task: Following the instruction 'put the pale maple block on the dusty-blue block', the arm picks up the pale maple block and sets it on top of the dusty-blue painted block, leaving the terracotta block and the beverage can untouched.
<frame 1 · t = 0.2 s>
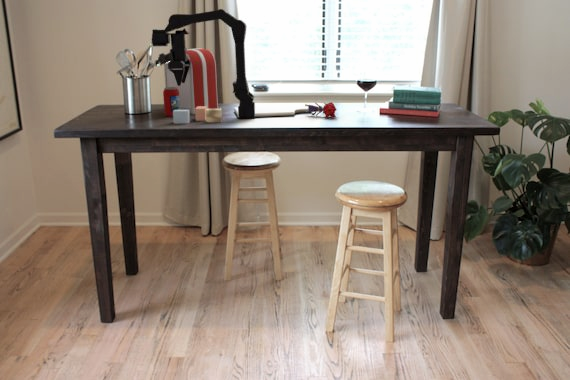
hand: (181, 84, 255), 14 cm above the table, fingers open, 9 cm apart
beverage can: (172, 116, 266), on the table
terracotta block: (201, 119, 257), on the table
blue block: (181, 122, 250), on the table
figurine: (321, 117, 258), on the table
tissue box: (192, 110, 281), on the table
maple block: (214, 121, 252), on the table
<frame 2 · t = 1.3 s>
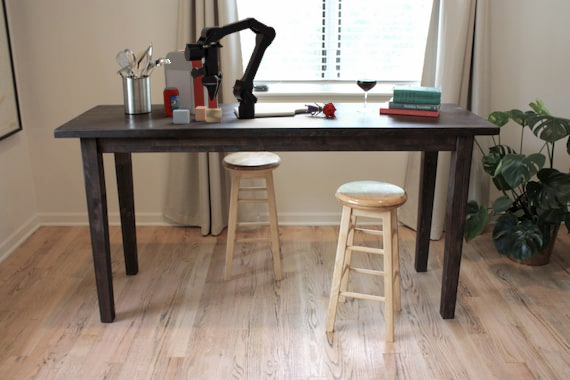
hand: (213, 98, 249), 9 cm above the table, fingers open, 9 cm apart
nothing on the table moved.
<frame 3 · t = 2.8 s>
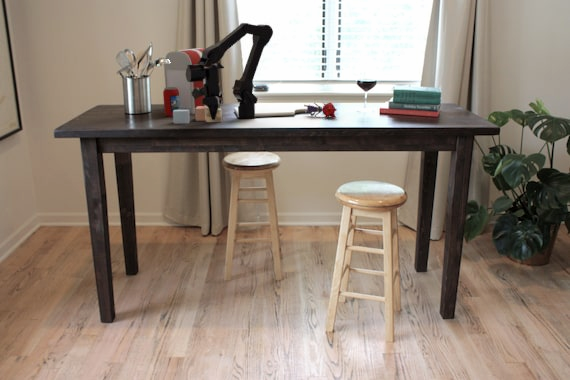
hand: (214, 118, 251), 1 cm above the table, fingers closed on maple block, 4 cm apart
maple block: (214, 121, 252), on the table, touching gripper
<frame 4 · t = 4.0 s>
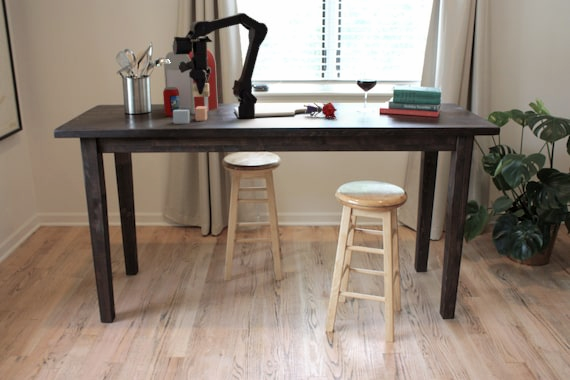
hand: (201, 93, 248), 11 cm above the table, fingers closed on maple block, 4 cm apart
maple block: (201, 96, 248), point 10 cm above the table, touching gripper
everything else where it was.
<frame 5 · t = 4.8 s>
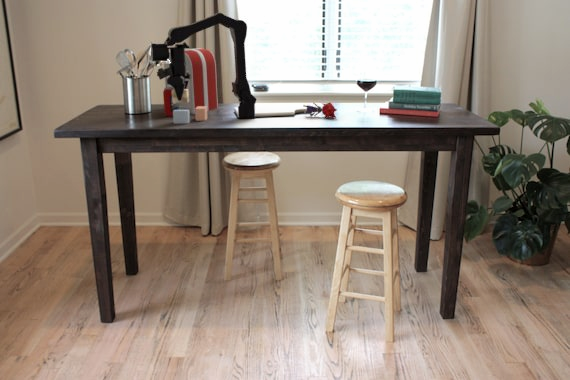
hand: (180, 99, 247), 9 cm above the table, fingers closed on maple block, 4 cm apart
maple block: (180, 102, 248), point 8 cm above the table, touching gripper
when the fingers open (7 cm above the table, at t = 5.4 s): maple block drops 1 cm, resting on blue block.
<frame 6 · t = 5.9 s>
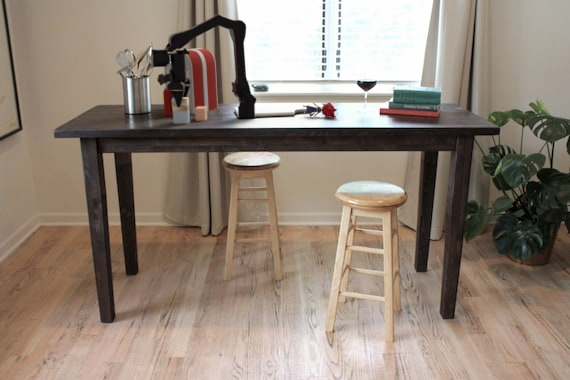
hand: (180, 105, 248), 7 cm above the table, fingers open, 9 cm apart
blue block: (181, 122, 250), on the table, touching maple block
maple block: (181, 110, 249), point 5 cm above the table, touching blue block
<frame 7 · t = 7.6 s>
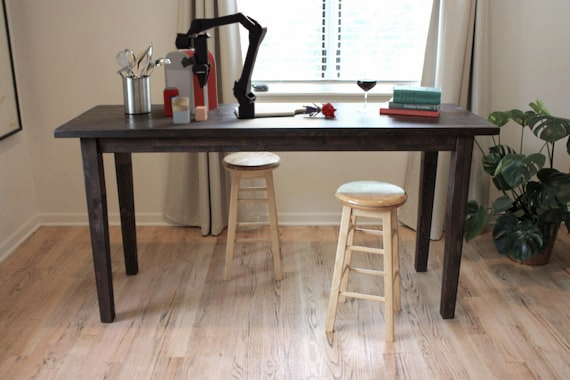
hand: (203, 87, 260), 12 cm above the table, fingers open, 9 cm apart
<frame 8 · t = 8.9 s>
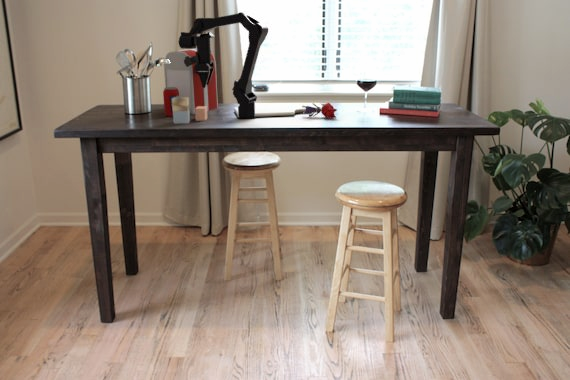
hand: (205, 86, 262), 13 cm above the table, fingers open, 9 cm apart
at the end: maple block 0.0 cm off-centre on the blue block, point 5.0 cm above the blue block's base; terracotta block moved 0.1 cm from its start; beverage can moved 0.2 cm from its start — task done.
